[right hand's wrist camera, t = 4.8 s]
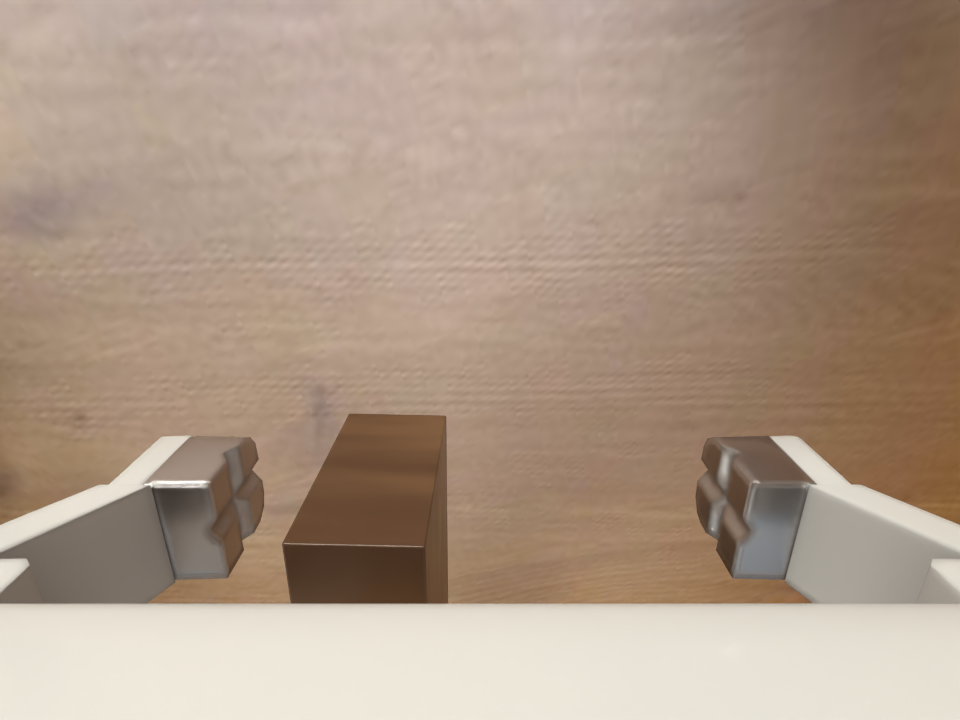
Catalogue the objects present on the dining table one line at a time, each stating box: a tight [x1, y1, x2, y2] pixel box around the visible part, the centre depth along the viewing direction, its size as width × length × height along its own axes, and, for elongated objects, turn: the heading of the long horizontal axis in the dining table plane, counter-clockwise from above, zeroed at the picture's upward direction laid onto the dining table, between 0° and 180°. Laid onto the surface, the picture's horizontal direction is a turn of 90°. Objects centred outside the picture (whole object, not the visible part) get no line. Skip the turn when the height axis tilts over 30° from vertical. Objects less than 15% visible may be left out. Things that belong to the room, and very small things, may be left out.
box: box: [282, 414, 448, 604], centre depth 32 cm, size 20×6×12 cm, turn 179°
